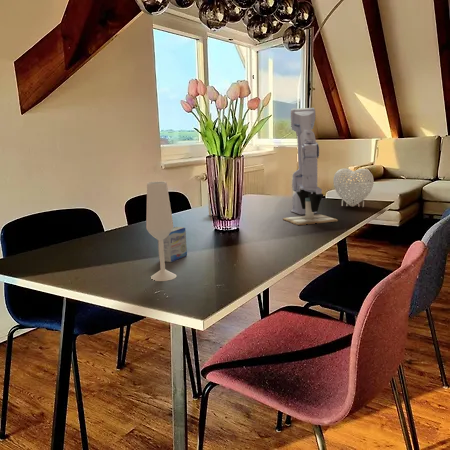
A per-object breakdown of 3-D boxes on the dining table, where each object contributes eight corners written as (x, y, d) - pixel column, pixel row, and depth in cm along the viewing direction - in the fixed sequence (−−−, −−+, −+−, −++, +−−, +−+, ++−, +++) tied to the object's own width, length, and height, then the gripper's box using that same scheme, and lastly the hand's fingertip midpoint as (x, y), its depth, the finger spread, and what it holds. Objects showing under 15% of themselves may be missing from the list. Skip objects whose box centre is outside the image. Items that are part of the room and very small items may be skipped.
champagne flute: (144, 278, 114) (137, 183, 109) (161, 271, 119) (155, 180, 114) (165, 282, 110) (158, 184, 105) (181, 274, 116) (176, 181, 111)
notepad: (282, 219, 181) (282, 217, 181) (320, 215, 186) (320, 213, 186) (298, 225, 169) (298, 223, 169) (337, 221, 174) (337, 218, 174)
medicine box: (170, 262, 127) (168, 232, 125) (158, 261, 129) (156, 231, 128) (187, 255, 134) (185, 227, 132) (175, 254, 136) (173, 226, 134)
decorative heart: (376, 205, 203) (377, 167, 200) (368, 209, 195) (369, 169, 191) (338, 203, 214) (338, 167, 210) (329, 207, 205) (329, 169, 202)
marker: (303, 218, 178) (303, 197, 177) (311, 217, 179) (311, 197, 178) (307, 219, 175) (307, 199, 174) (315, 218, 176) (315, 198, 174)
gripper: (291, 174, 179) (292, 208, 182) (309, 177, 166) (309, 214, 169) (307, 173, 182) (307, 206, 184) (326, 176, 168) (326, 212, 171)
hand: (309, 210), depth 177 cm, fingers open, 7 cm apart
